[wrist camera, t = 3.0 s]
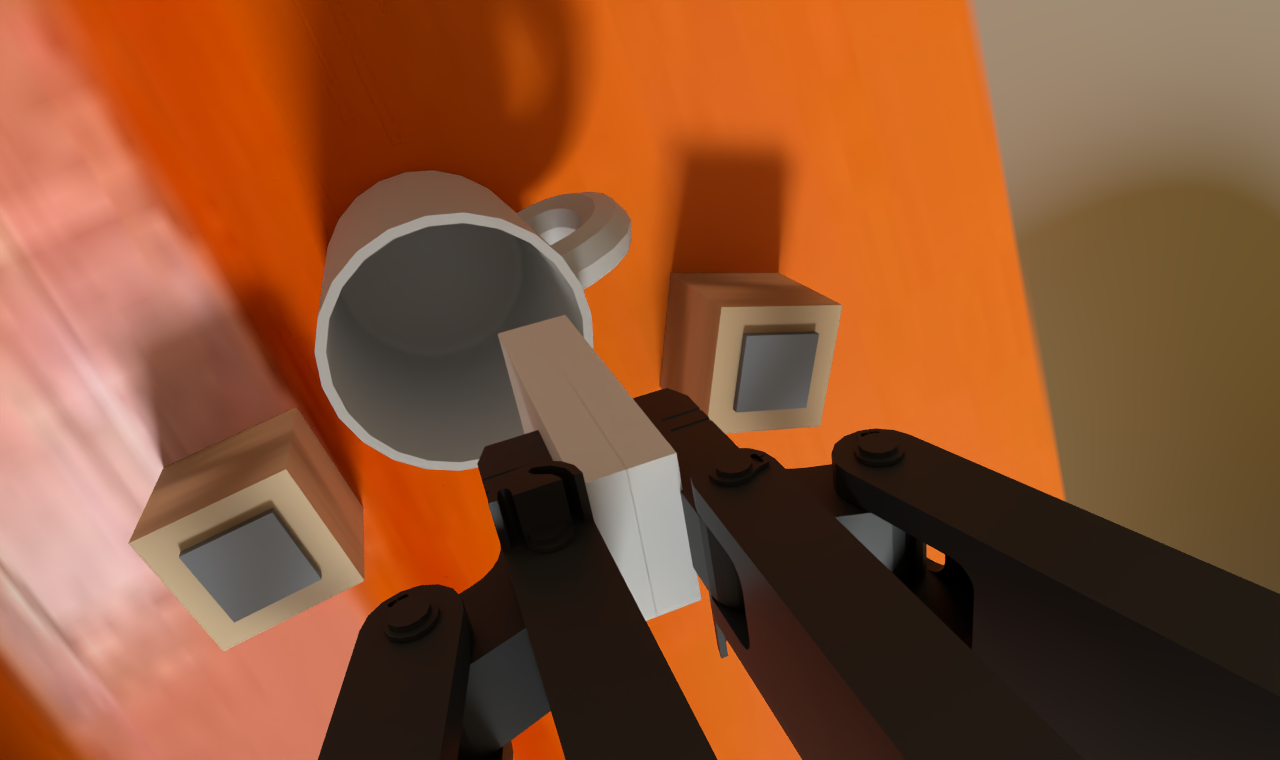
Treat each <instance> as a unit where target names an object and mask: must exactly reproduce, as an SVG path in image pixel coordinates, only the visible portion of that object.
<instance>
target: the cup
mask: <svg viewBox="0 0 1280 760" xmlns="http://www.w3.org/2000/svg"><path fill="white" fill-rule="evenodd" d="M630 242H631V220H630V218H629V216H628V214H627V212H626V211H625V210H624V209H623V208H622V207H621V206H620V205H619V204H617V203H616V202H615V201H614V200H613V199H612V198H610V197H608V196H607V195H605V194H603V193H596V192H583V193H573V194H564V195H558V196H555V197H551V198H548V199H545V200H543V201H540V202H538V203H536V204H533V205H531V206H529V207H527V208H525V209H523V210H521V211H519V212H517V213H516V212H515V211H514V210H513V209H511V208H510V207H509V206H508V205H507V204H506V203H504V202H503V201H502V200H501V199H500V198H499V197H498V196H496V195H495V194H494V193H493V192H492V191H491V190H490V189H488V188H486V187H484V186H482V185H480V184H478V183H476V182H473V181H471V180H469V179H467V178H465V177H463V176H461V175H456V174H451V173H446V172H441V171H435V170H427V171H414V172H404V173H401V174H399V175H396V176H393V177H390V178H387V179H384V180H381V181H379V182H377V183H376V184H375V185H373V186H372V187H370V188H369V189H367V190H366V191H365V192H363V193H362V194H360V195H359V196H358V197H356V198H355V200H354V201H353V202H352V203H351V205H350V206H349V207H348V208H347V210H346V211H345V212H344V213H343V215H342V216H341V217H340V218H339V220H338V222H337V225H336V227H335V230H334V232H333V235H332V237H331V240H330V242H329V245H328V247H327V254H326V261H325V269H324V276H323V283H322V291H321V298H320V305H319V313H318V321H317V332H316V342H315V357H316V362H317V366H318V371H319V376H320V380H321V385H322V388H323V390H324V392H325V394H326V395H327V397H328V399H329V401H330V403H331V405H332V406H333V408H334V410H335V412H336V414H337V416H338V417H339V419H340V420H341V421H342V422H343V423H344V424H345V425H346V426H347V427H348V428H349V429H350V430H351V431H352V432H353V433H354V434H355V435H356V436H357V437H358V438H359V439H360V440H361V441H362V442H364V443H365V444H367V445H369V446H370V447H372V448H374V449H376V450H377V451H379V452H381V453H382V454H384V455H386V456H388V457H389V458H391V459H393V460H396V461H399V462H403V463H407V464H410V465H414V466H417V467H421V468H424V469H435V470H457V471H462V470H467V469H472V468H478V465H477V463H478V461H479V458H480V456H481V454H482V451H483V449H484V447H485V446H488V445H491V444H494V443H498V442H501V441H504V440H507V439H511V438H514V437H517V436H520V435H523V434H524V430H523V426H522V422H521V419H520V415H519V411H518V408H517V404H516V400H515V396H514V393H513V389H512V385H511V382H510V378H509V374H508V370H507V367H506V363H505V359H504V355H503V352H502V348H501V344H500V341H499V337H498V333H501V332H505V331H509V330H512V329H516V328H519V327H523V326H527V325H530V324H534V323H537V322H541V321H545V320H548V319H552V318H555V317H559V316H563V315H566V316H567V318H568V319H569V320H570V321H571V323H572V324H573V325H574V326H575V328H576V329H577V330H578V331H579V332H580V334H581V335H582V336H583V337H584V339H585V340H586V341H587V342H588V344H589V345H590V346H591V347H592V349H593V331H592V315H591V312H590V309H589V306H588V303H587V300H586V297H585V294H584V291H583V290H584V289H586V288H587V287H589V286H591V285H593V284H594V283H595V282H597V281H598V280H599V279H601V278H602V277H603V276H605V275H606V274H607V273H609V272H610V271H611V270H612V269H614V268H615V267H616V266H617V265H618V263H619V262H620V261H621V260H622V259H623V258H624V256H625V255H626V254H627V253H628V250H629V246H630Z"/></svg>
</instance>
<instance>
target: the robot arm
mask: <svg viewBox="0 0 1280 760" xmlns="http://www.w3.org/2000/svg"><path fill="white" fill-rule="evenodd" d="M498 337H499V341H500V344H501V348H502V352H503V355H504V359H505V363H506V367H507V370H508V374H509V378H510V382H511V385H512V389H513V393H514V396H515V400H516V404H517V408H518V411H519V415H520V419H521V422H522V426H523V430H524V434H523V435H520V436H517V437H514V438H511V439H507V440H504V441H501V442H498V443H494V444H491V445H488V446H485V447H484V449H483V451H482V454H481V456H480V458H479V461H478V463H477V465H478V468H479V471H480V475H481V478H482V481H483V485H484V488H485V492H486V495H487V498H488V505H489V508H490V511H491V514H492V518H493V521H494V524H495V527H496V531H497V534H498V537H499V540H500V544H501V551H500V555H499V558H498V560H497V562H496V563H495V565H494V567H493V568H492V569H491V570H490V571H489V572H488V573H487V574H486V576H485V577H484V578H483V579H481V580H480V581H478V582H477V583H476V584H474V585H473V586H471V587H470V588H468V589H467V590H465V591H463V592H462V593H460V594H458V593H457V592H456V591H455V590H454V589H453V588H449V587H446V586H442V585H439V584H437V585H421V586H417V587H414V588H411V589H408V590H405V591H402V592H399V593H398V594H396V595H394V596H393V597H391V598H389V599H387V600H386V601H384V602H382V603H381V604H380V605H379V606H378V607H377V608H376V609H375V610H374V611H373V612H372V613H371V614H370V615H369V616H368V617H367V619H366V621H365V622H364V624H363V626H362V628H361V629H360V631H359V634H358V638H357V641H356V644H355V647H354V650H353V653H352V656H351V659H350V662H349V665H348V668H347V671H346V675H345V678H344V681H343V684H342V687H341V690H340V693H339V696H338V699H337V702H336V705H335V708H334V712H333V715H332V718H331V721H330V724H329V727H328V730H327V733H326V736H325V739H324V742H323V745H322V749H321V752H320V755H319V758H318V760H513V748H512V742H511V740H512V739H513V738H515V737H516V736H517V735H519V734H520V733H522V732H523V731H524V730H526V729H527V728H528V727H530V726H531V725H532V724H534V723H535V722H536V721H538V720H539V719H540V718H542V717H543V716H544V715H546V714H547V713H548V712H550V711H551V712H552V716H553V719H554V722H555V726H556V729H557V732H558V736H559V739H560V742H561V746H562V749H563V752H564V756H565V759H566V760H717V758H716V756H715V754H714V752H713V750H712V748H711V746H710V744H709V742H708V740H707V739H706V737H705V735H704V733H703V731H702V729H701V727H700V725H699V723H698V721H697V719H696V717H695V715H694V713H693V711H692V710H691V708H690V706H689V704H688V702H687V700H686V698H685V696H684V694H683V692H682V690H681V688H680V686H679V684H678V682H677V681H676V679H675V677H674V675H673V673H672V671H671V669H670V667H669V665H668V663H667V661H666V659H665V657H664V655H663V653H662V651H661V650H660V648H659V646H658V644H657V642H656V640H655V638H654V636H653V634H652V632H651V630H650V628H649V626H648V624H647V622H646V621H647V620H650V619H652V618H655V617H657V616H660V615H663V614H665V613H668V612H671V611H673V610H676V609H678V608H681V607H684V606H686V605H689V604H692V603H694V602H697V601H699V600H701V595H700V589H699V583H698V577H697V574H698V575H699V577H700V578H701V580H702V582H703V583H704V585H705V586H706V588H707V589H708V591H709V596H710V602H711V608H712V614H713V620H714V626H715V633H716V639H717V645H718V649H719V652H720V656H721V658H724V657H726V656H728V653H727V646H726V641H728V642H729V644H730V645H731V647H732V649H733V650H734V652H735V653H736V655H737V656H738V658H739V660H740V661H741V663H742V664H743V666H744V668H745V669H746V671H747V672H748V674H749V676H750V677H751V679H752V680H753V682H754V683H755V685H756V687H757V688H758V690H759V691H760V693H761V695H762V696H763V698H764V699H765V701H766V703H767V704H768V706H769V707H770V709H771V710H772V712H773V714H774V715H775V717H776V718H777V720H778V722H779V723H780V725H781V726H782V728H783V730H784V731H785V733H786V734H787V736H788V737H789V739H790V741H791V742H792V744H793V745H794V747H795V749H796V750H797V752H798V753H799V755H800V757H801V758H802V760H1280V594H1278V593H1276V592H1274V591H1271V590H1269V589H1267V588H1264V587H1262V586H1260V585H1258V584H1255V583H1253V582H1251V581H1248V580H1246V579H1243V578H1241V577H1239V576H1236V575H1234V574H1232V573H1230V572H1227V571H1225V570H1223V569H1220V568H1218V567H1216V566H1213V565H1211V564H1209V563H1206V562H1204V561H1202V560H1199V559H1197V558H1195V557H1192V556H1190V555H1188V554H1186V553H1183V552H1181V551H1179V550H1176V549H1174V548H1172V547H1169V546H1167V545H1164V544H1162V543H1160V542H1158V541H1155V540H1153V539H1151V538H1148V537H1146V536H1144V535H1141V534H1139V533H1137V532H1134V531H1132V530H1130V529H1127V528H1125V527H1122V526H1120V525H1118V524H1116V523H1114V522H1111V521H1109V520H1106V519H1104V518H1102V517H1100V516H1097V515H1094V514H1092V513H1090V512H1088V511H1086V510H1083V509H1081V508H1079V507H1076V506H1074V505H1072V504H1069V503H1067V502H1065V501H1062V500H1060V499H1058V498H1055V497H1053V496H1051V495H1048V494H1046V493H1044V492H1042V491H1039V490H1037V489H1035V488H1032V487H1030V486H1028V485H1025V484H1023V483H1021V482H1018V481H1016V480H1014V479H1011V478H1009V477H1007V476H1004V475H1002V474H1000V473H997V472H995V471H993V470H990V469H988V468H986V467H983V466H981V465H979V464H976V463H974V462H972V461H970V460H967V459H965V458H963V457H960V456H958V455H956V454H953V453H951V452H949V451H946V450H944V449H942V448H939V447H937V446H935V445H932V444H930V443H928V442H925V441H923V440H921V439H918V438H916V437H914V436H911V435H909V434H906V433H902V432H899V431H895V430H886V429H869V430H862V431H857V432H855V433H852V434H849V435H847V436H844V437H843V438H842V439H841V440H839V441H838V442H837V443H836V444H835V445H834V448H833V451H832V464H831V465H823V466H816V467H808V468H797V469H785V468H784V467H783V466H782V465H781V464H780V463H779V462H778V461H777V460H776V459H775V458H773V457H771V456H770V455H768V454H766V453H765V452H763V451H758V450H754V449H750V448H738V447H737V446H736V445H735V444H734V443H733V442H732V441H731V439H730V438H729V437H728V436H727V435H726V434H725V433H724V432H723V431H722V430H721V429H720V428H719V427H718V426H717V425H716V424H715V423H714V422H713V421H712V420H710V419H709V417H708V416H707V415H706V414H705V413H704V412H703V411H702V410H700V408H699V407H698V406H697V405H696V404H695V403H694V401H693V400H692V399H691V398H690V397H689V396H688V395H685V394H682V393H680V392H677V391H674V390H671V389H669V388H665V389H662V390H659V391H655V392H652V393H649V394H646V395H642V396H639V397H636V398H632V397H631V396H630V395H629V393H628V392H627V391H626V390H625V388H624V387H623V386H622V385H621V383H620V382H619V381H618V380H617V378H616V377H615V376H614V375H613V373H612V372H611V371H610V370H609V368H608V367H607V366H606V365H605V364H604V362H603V361H602V360H601V359H600V357H599V356H598V355H597V354H596V352H595V351H594V350H593V349H592V347H591V346H590V345H589V344H588V342H587V341H586V340H585V339H584V337H583V336H582V335H581V334H580V332H579V331H578V330H577V329H576V328H575V326H574V325H573V324H572V323H571V321H570V320H569V319H568V318H567V316H566V315H563V316H559V317H555V318H552V319H548V320H545V321H541V322H537V323H534V324H530V325H527V326H523V327H519V328H516V329H512V330H509V331H505V332H501V333H498ZM926 544H928V545H929V546H931V547H933V548H935V549H937V550H938V551H940V552H942V553H944V554H945V565H941V564H938V563H936V562H934V561H932V560H930V559H929V558H927V557H926Z"/></svg>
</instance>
